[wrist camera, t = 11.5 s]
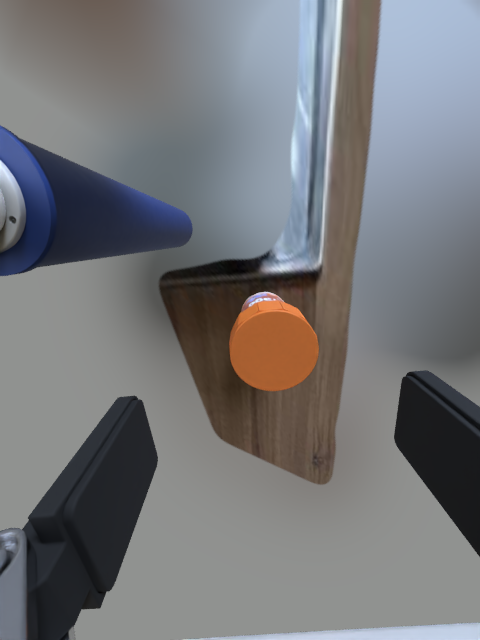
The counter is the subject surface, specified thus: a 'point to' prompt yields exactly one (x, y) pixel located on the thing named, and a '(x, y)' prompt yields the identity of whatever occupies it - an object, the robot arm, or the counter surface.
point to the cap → (272, 346)
